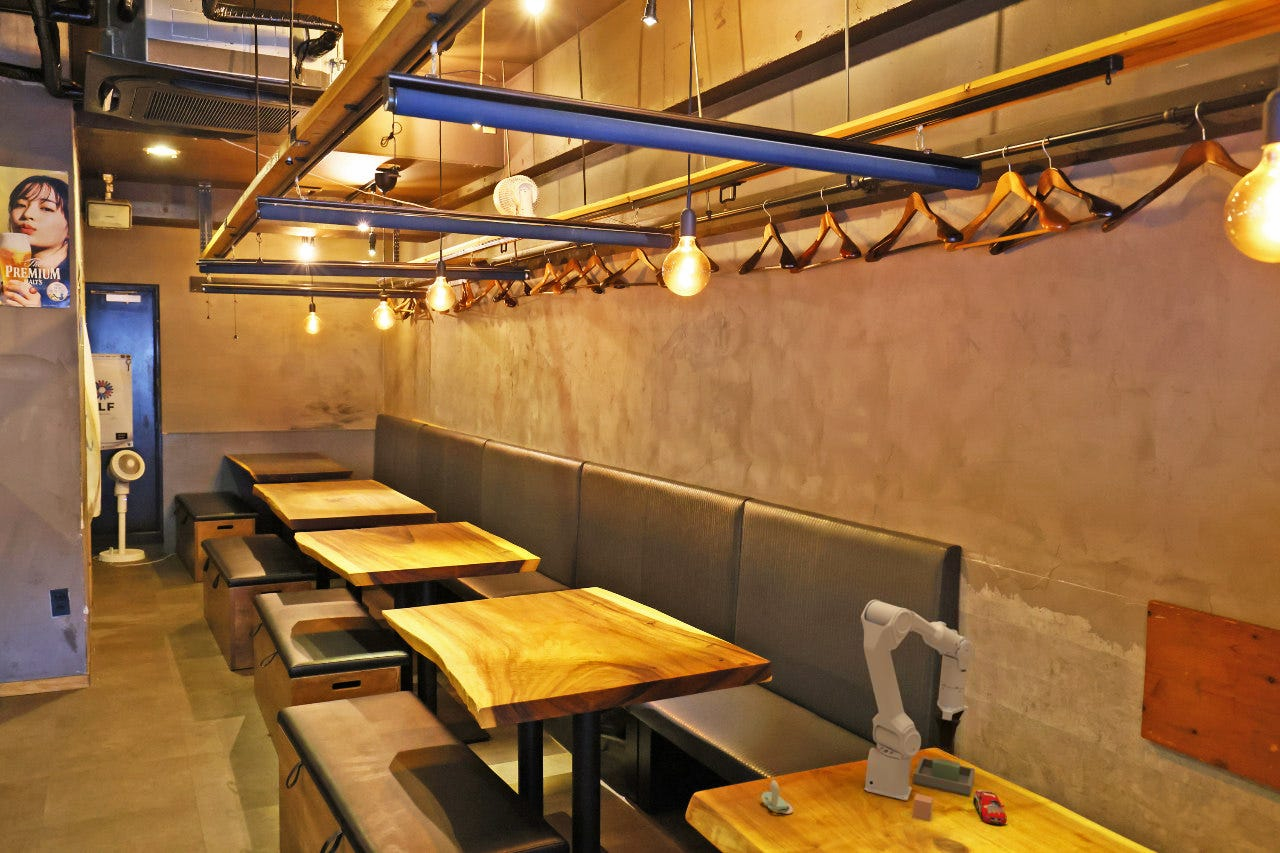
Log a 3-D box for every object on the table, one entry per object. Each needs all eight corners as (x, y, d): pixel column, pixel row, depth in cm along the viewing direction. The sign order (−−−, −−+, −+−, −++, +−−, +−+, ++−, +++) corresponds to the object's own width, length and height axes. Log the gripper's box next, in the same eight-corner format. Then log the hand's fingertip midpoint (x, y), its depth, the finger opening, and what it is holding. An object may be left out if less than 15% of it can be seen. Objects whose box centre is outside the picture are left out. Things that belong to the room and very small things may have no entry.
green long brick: (930, 778, 226) (932, 761, 226) (932, 773, 229) (934, 757, 229) (957, 784, 223) (959, 767, 223) (958, 779, 227) (960, 763, 227)
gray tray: (912, 784, 223) (913, 773, 223) (920, 766, 235) (921, 756, 235) (969, 797, 218) (970, 786, 218) (973, 779, 230) (974, 768, 229)
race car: (1008, 829, 203) (1009, 811, 203) (981, 825, 204) (983, 807, 204) (996, 804, 216) (997, 787, 216) (971, 800, 217) (972, 783, 217)
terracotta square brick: (912, 817, 204) (914, 799, 204) (914, 811, 207) (916, 793, 207) (929, 821, 203) (931, 803, 203) (931, 815, 206) (933, 797, 206)
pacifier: (782, 802, 207) (757, 802, 205) (786, 773, 207) (761, 773, 205) (798, 816, 200) (772, 817, 198) (802, 787, 200) (776, 787, 198)
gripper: (967, 696, 218) (961, 754, 218) (972, 681, 231) (967, 736, 231) (935, 690, 221) (930, 747, 221) (942, 675, 234) (937, 730, 234)
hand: (947, 741), depth 226 cm, fingers open, 7 cm apart
